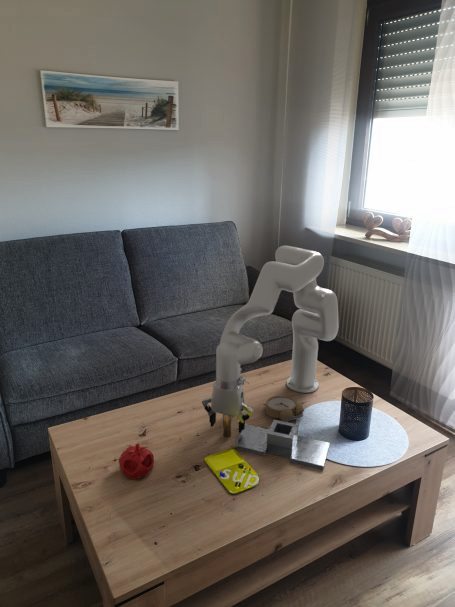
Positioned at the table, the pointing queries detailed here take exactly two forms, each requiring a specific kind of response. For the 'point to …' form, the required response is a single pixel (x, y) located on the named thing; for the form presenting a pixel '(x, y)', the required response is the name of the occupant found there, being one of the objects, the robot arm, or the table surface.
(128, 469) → the pomegranate
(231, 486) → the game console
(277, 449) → the hinge frame
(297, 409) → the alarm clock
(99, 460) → the table surface
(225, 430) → the hinge pin
